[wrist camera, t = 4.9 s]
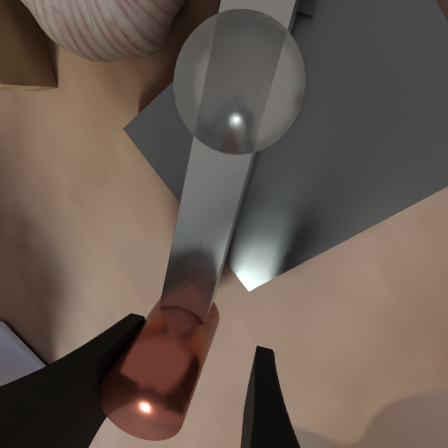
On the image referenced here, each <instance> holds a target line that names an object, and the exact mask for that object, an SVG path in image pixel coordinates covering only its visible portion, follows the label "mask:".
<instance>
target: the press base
mask: <svg viewBox="0 0 448 448" xmlns="http://www.w3.org/2000/svg"><path fill="white" fill-rule="evenodd" d="M291 36H292V37H293V38H294V40H295V42H296V44H297V45H298V48H299V50H300V53H301V55H302V59H303V63H304V68H305V91H304V97H303V101H302V105H301V107H300V110H299V113H298V115H297V117H296V118H295V120H294V122H293V124H292V125H291V126H290V128H289V129H288V130H287V132H286V133H285V134H284V135H283V136H282V137H281V138H280V139H278V140H277V141H276V142H275V143H273V144H272V145H270V146H269V147H267V148H265V149H262V150H260V151H257V152H256V156H255V159H254V163H253V166H252V170H251V173H250V177H249V180H248V184H247V187H246V191H245V194H244V197H243V201H242V204H241V208H240V211H239V215H238V218H237V222H236V225H235V229H234V232H233V236H232V239H231V243H230V246H229V250H228V253H227V257H226V260H225V261H226V262H227V264H228V265H229V266H230V268H231V269H232V270H233V271H234V273H235V274H236V275H237V277H238V278H239V279H240V280H241V282H242V283H243V284H244V286H245V287H246V288H247V289H248V291H250V290H252V289H254V288H256V287H258V286H260V285H262V284H264V283H265V282H267V281H269V280H271V279H273V278H275V277H277V276H279V275H281V274H283V273H284V272H286V271H288V270H290V269H292V268H294V267H296V266H298V265H300V264H302V263H303V262H305V261H307V260H309V259H311V258H313V257H315V256H317V255H319V254H320V253H322V252H324V251H326V250H328V249H330V248H332V247H334V246H336V245H338V244H339V243H341V242H343V241H345V240H347V239H349V238H351V237H353V236H355V235H357V234H358V233H360V232H362V231H364V230H366V229H368V228H370V227H372V226H374V225H375V224H377V223H379V222H381V221H383V220H385V219H387V218H389V217H391V216H393V215H394V214H396V213H398V212H400V211H402V210H404V209H406V208H408V207H410V206H411V205H413V204H415V203H417V202H419V201H421V200H423V199H425V198H427V197H429V196H430V195H432V194H434V193H436V192H438V191H440V190H442V189H444V188H446V187H448V21H447V20H446V18H445V16H444V14H443V12H442V10H441V8H440V6H439V4H438V3H437V1H436V0H318V1H317V4H316V8H315V11H314V14H313V16H312V15H307V14H303V13H299V12H297V13H296V16H295V20H294V23H293V27H292V30H291ZM123 129H124V131H125V132H126V133H127V135H128V136H129V137H130V138H131V140H132V141H133V142H134V144H135V145H136V146H137V147H138V149H139V150H140V151H141V153H142V154H143V155H144V156H145V158H146V159H147V160H148V162H149V163H150V164H151V166H152V167H153V168H154V169H155V171H156V172H157V173H158V175H159V176H160V177H161V178H162V180H163V181H164V182H165V184H166V185H167V186H168V187H169V189H170V190H171V191H172V193H173V194H174V195H175V197H176V198H177V199H178V200H179V202H181V197H182V192H183V187H184V182H185V177H186V172H187V167H188V162H189V157H190V152H191V147H192V142H193V137H194V135H193V134H192V133H191V132H190V131H189V130H188V128H187V127H186V125H185V124H184V122H183V120H182V118H181V116H180V114H179V111H178V108H177V105H176V101H175V96H174V81H173V82H172V83H171V84H170V85H169V86H168V87H167V88H165V89H164V90H163V91H162V92H161V93H160V94H159V95H158V96H157V97H156V98H155V99H154V100H153V101H152V102H151V103H150V104H149V105H148V106H146V107H145V108H144V109H143V110H142V111H141V112H140V113H139V114H138V115H137V116H136V117H135V118H134V119H133V120H132V121H131V122H130V123H129V124H127V125H126V126H125V127H124V128H123Z"/></svg>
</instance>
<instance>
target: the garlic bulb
mask: <svg viewBox="0 0 448 448" xmlns="http://www.w3.org/2000/svg"><path fill="white" fill-rule="evenodd" d="M21 1H22V2H23V3H24V5H25V6H26V7H27V8H28V9H29V10H30V12H31V13H32V15H33V16H34V18H35V19H36V21H37V22H38V24H39V25H40V27H41V28H42V29H43V31H44V32H45V33H46V34H47V35H48V36H49V37H50V38H51V39H52V40H53V41H54V42H56V43H57V44H58V45H60V46H61V47H63V48H64V49H66V50H68V51H70V52H72V53H74V54H76V55H78V56H80V57H83V58H85V59H88V60H91V61H95V62H108V61H113V60H116V59H118V58H120V57H123V56H134V57H145V56H149V55H152V54H154V53H155V52H157V51H158V50H159V49H160V48H161V47H162V46H163V44H164V43H165V42H166V40H167V38H168V36H169V34H170V30H171V26H172V22H173V19H174V17H175V16H176V14H177V13H178V11H179V10H180V9H181V7H182V5H183V4H184V2H185V0H21Z"/></svg>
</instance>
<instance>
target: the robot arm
mask: <svg viewBox="0 0 448 448" xmlns="http://www.w3.org/2000/svg"><path fill="white" fill-rule="evenodd" d="M144 320H145V317H144V316H140V315H137V314H133V313H131V314H129V315H128V316H126V317H125V318H123V319H122V320H120V321H119V322H117V323H116V324H115V325H113V326H112V327H110V328H109V329H107V330H106V331H104V332H103V333H101V334H100V335H98V336H97V337H95V338H94V339H92V340H91V341H89V342H88V343H86V344H84V345H83V346H81V347H79V348H78V349H76V350H74V351H73V352H71V353H69V354H68V355H66V356H64V357H62V358H61V359H59V360H57V361H55V362H53V363H51V364H49V365H47V366H46V365H45V364H44V363H43V362H42V361H41V360H40V359H39V358H38V357H37V356H36V355H35V354H34V353H33V352H32V351H31V350H30V349H29V348H28V347H27V346H26V345H25V344H24V343H23V342H22V341H21V340H20V339H19V338H18V337H17V336H16V335H15V333H14V332H13V331H12V330H11V329H10V328H9V327H8V326H7V325H6V324H5V323H4V322H2V321H0V448H89V446H90V444H91V442H92V440H93V438H94V436H95V435H96V433H97V431H98V430H99V428H100V426H101V425H102V423H103V422H104V420H105V419H106V417H107V416H106V414H105V413H104V412H103V410H102V408H101V406H100V403H99V400H98V388H99V386H100V383H101V382H102V381H103V379H104V378H105V376H106V375H107V373H108V372H109V371H110V369H111V368H112V366H113V365H114V363H115V362H116V361H117V359H118V358H119V356H120V355H121V353H122V352H123V351H124V349H125V348H126V346H127V345H128V343H129V342H130V341H131V339H132V338H133V336H134V335H135V333H136V332H137V331H138V329H139V328H140V326H141V325H142V323H143V322H144ZM241 448H300V445H299V443H298V440H297V438H296V436H295V433H294V430H293V427H292V424H291V422H290V419H289V416H288V413H287V410H286V406H285V403H284V399H283V396H282V392H281V389H280V385H279V380H278V376H277V371H276V365H275V357H274V352H273V350H272V349H268V348H264V347H260V346H257V347H256V352H255V357H254V361H253V366H252V370H251V375H250V379H249V384H248V390H247V395H246V401H245V406H244V415H243V426H242V438H241Z"/></svg>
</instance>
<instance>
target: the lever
mask: <svg viewBox="0 0 448 448" xmlns="http://www.w3.org/2000/svg"><path fill="white" fill-rule="evenodd" d="M317 1H318V0H221V3H220V8H219V13H218V14H215V15H213V16H211V17H210V18H208V19H207V20H205V21H204V22H202V23H201V24H200V25H199V26H198V27H197V28H196V29H195V30H194V31H193V32H192V33H191V34H190V35H189V37H188V38H187V40H186V41H185V43H184V45H183V47H182V49H181V51H180V53H179V56H178V59H177V62H176V66H175V71H174V96H175V101H176V105H177V108H178V111H179V114H180V116H181V118H182V120H183V122H184V124H185V125H186V127H187V128H188V130H189V131H190V132H191V133H192V134H193V135H194V137H193V142H192V147H191V152H190V157H189V162H188V167H187V172H186V177H185V182H184V187H183V192H182V197H181V202H180V207H179V212H178V217H177V222H176V227H175V232H174V237H173V242H172V247H171V252H170V257H169V262H168V267H167V272H166V277H165V282H164V287H163V292H162V296H161V298H160V299H159V300H158V302H157V303H156V305H155V306H154V308H153V309H152V310H151V312H150V313H149V315H148V316H147V318H146V319H145V320H144V322H143V323H142V325H141V326H140V328H139V329H138V331H137V332H136V333H135V335H134V336H133V338H132V339H131V341H130V342H129V343H128V345H127V346H126V348H125V349H124V351H123V352H122V353H121V355H120V356H119V358H118V359H117V361H116V362H115V363H114V365H113V366H112V368H111V369H110V371H109V372H108V373H107V375H106V376H105V378H104V379H103V381H102V382H101V383H100V386H99V388H98V400H99V403H100V406H101V408H102V410H103V412H104V413H105V414H106V416H107V417H108V418H109V419H110V420H111V421H112V422H113V423H114V424H115V425H116V426H117V427H119V428H120V429H122V430H123V431H125V432H127V433H128V434H130V435H133V436H135V437H138V438H141V439H145V440H153V441H158V440H165V439H169V438H171V437H173V436H174V435H176V434H177V433H178V432H179V431H180V429H181V427H182V425H183V422H184V419H185V416H186V414H187V411H188V408H189V405H190V402H191V400H192V397H193V394H194V391H195V388H196V386H197V383H198V380H199V377H200V374H201V371H202V369H203V366H204V363H205V360H206V357H207V355H208V352H209V349H210V346H211V343H212V341H213V338H214V335H215V332H216V329H217V327H218V323H219V313H218V309H217V307H216V305H215V303H214V299H215V295H216V292H217V288H218V285H219V281H220V278H221V274H222V271H223V267H224V264H225V260H226V257H227V253H228V250H229V246H230V243H231V239H232V236H233V232H234V229H235V225H236V222H237V218H238V215H239V211H240V208H241V204H242V201H243V197H244V194H245V191H246V187H247V184H248V180H249V177H250V173H251V170H252V166H253V163H254V159H255V156H256V152H257V151H260V150H262V149H265V148H267V147H269V146H270V145H272V144H273V143H275V142H276V141H277V140H278V139H280V138H281V137H282V136H283V135H284V134H285V133H286V132H287V130H288V129H289V128H290V126H291V125H292V124H293V122H294V120H295V118H296V117H297V115H298V113H299V110H300V107H301V105H302V101H303V97H304V91H305V68H304V63H303V59H302V55H301V53H300V50H299V48H298V45H297V44H296V42H295V40H294V38H293V37H292V36H291V30H292V27H293V23H294V20H295V16H296V13H297V12H299V13H303V14H307V15H312V16H313V14H314V11H315V8H316V4H317Z"/></svg>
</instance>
